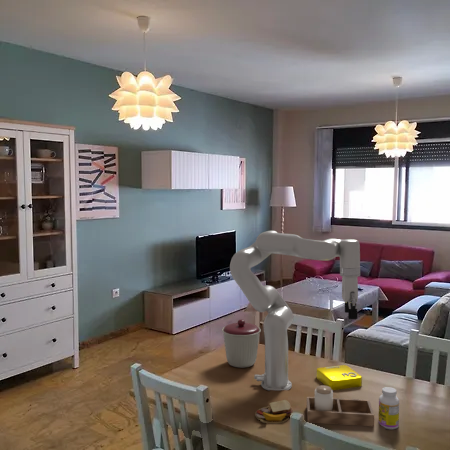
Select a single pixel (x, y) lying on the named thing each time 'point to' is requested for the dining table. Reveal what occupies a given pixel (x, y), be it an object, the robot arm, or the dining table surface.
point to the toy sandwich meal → (275, 412)
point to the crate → (342, 412)
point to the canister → (241, 343)
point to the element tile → (339, 377)
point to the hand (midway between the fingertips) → (350, 315)
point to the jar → (323, 398)
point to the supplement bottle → (389, 408)
